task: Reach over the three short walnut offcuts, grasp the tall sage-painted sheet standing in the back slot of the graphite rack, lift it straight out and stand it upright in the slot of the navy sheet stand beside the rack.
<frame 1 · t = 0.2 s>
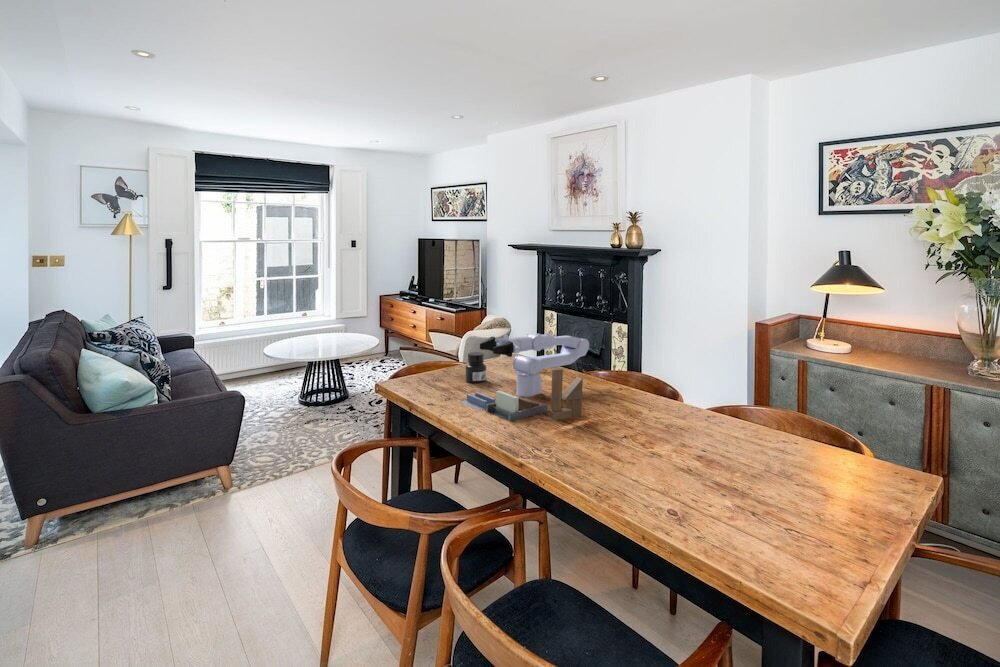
hand: (486, 348, 190), 21 cm above the table, tool horizontal, fingers open, 7 cm apart
slotted rack: (516, 414, 185), on the table
offcut stack: (526, 408, 188), resting on slotted rack
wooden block: (564, 420, 180), on the table
ink bottle: (475, 381, 228), on the table
tall sheet: (507, 413, 182), point 1 cm above the table, touching slotted rack
sheet stand: (480, 405, 194), on the table
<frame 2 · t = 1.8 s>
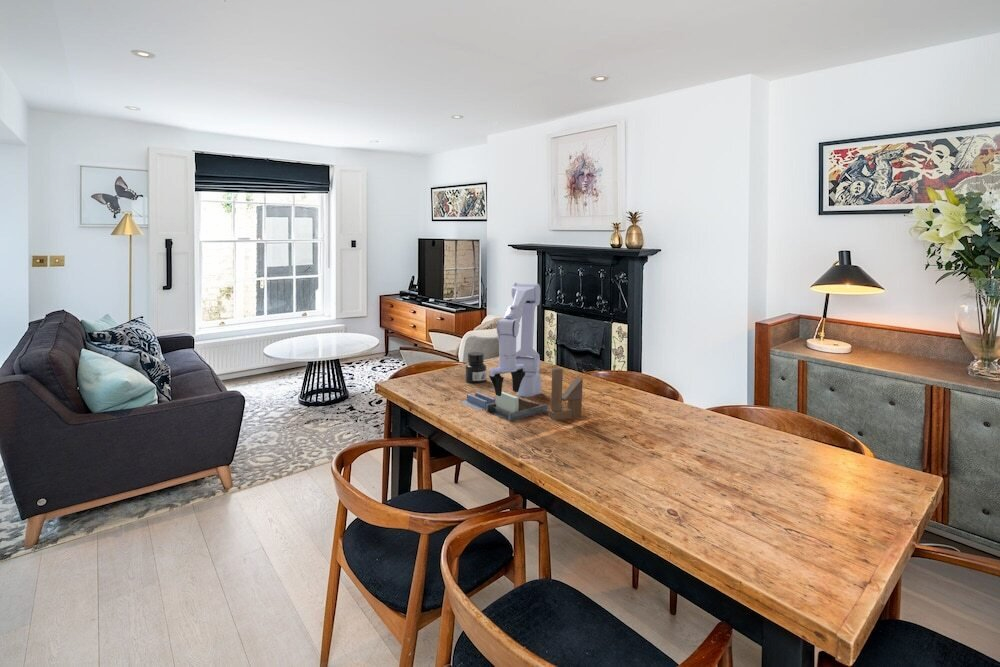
hand: (507, 393, 181), 8 cm above the table, tool pointing down, fingers open, 7 cm apart
nothing on the table moved.
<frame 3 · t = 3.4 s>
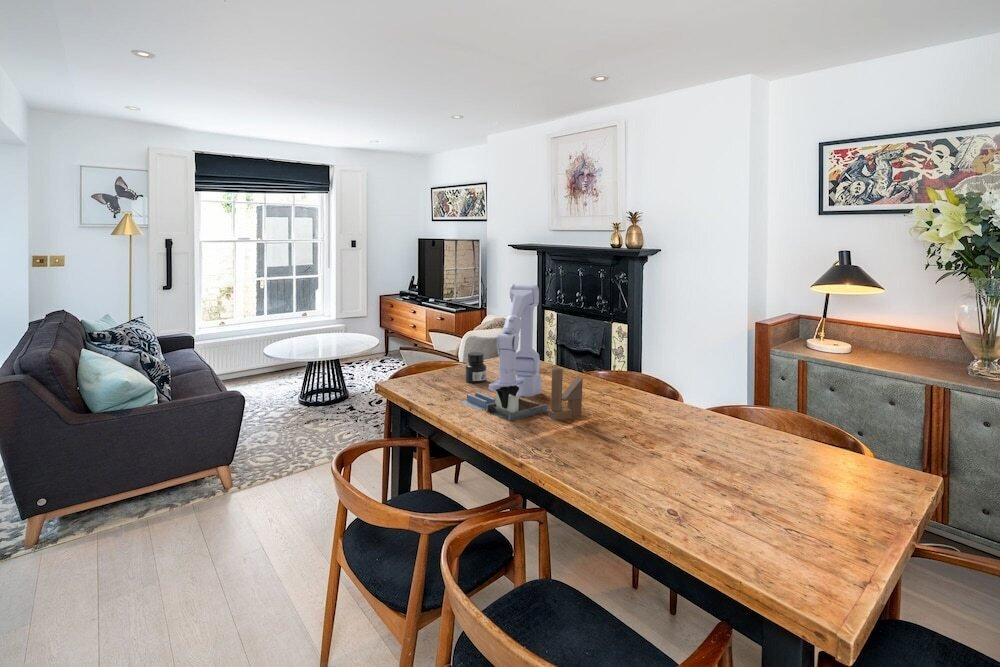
hand: (507, 407, 182), 3 cm above the table, tool pointing down, fingers closed on tall sheet, 2 cm apart
tall sheet: (507, 413, 182), point 1 cm above the table, touching gripper, slotted rack
everything else where it was.
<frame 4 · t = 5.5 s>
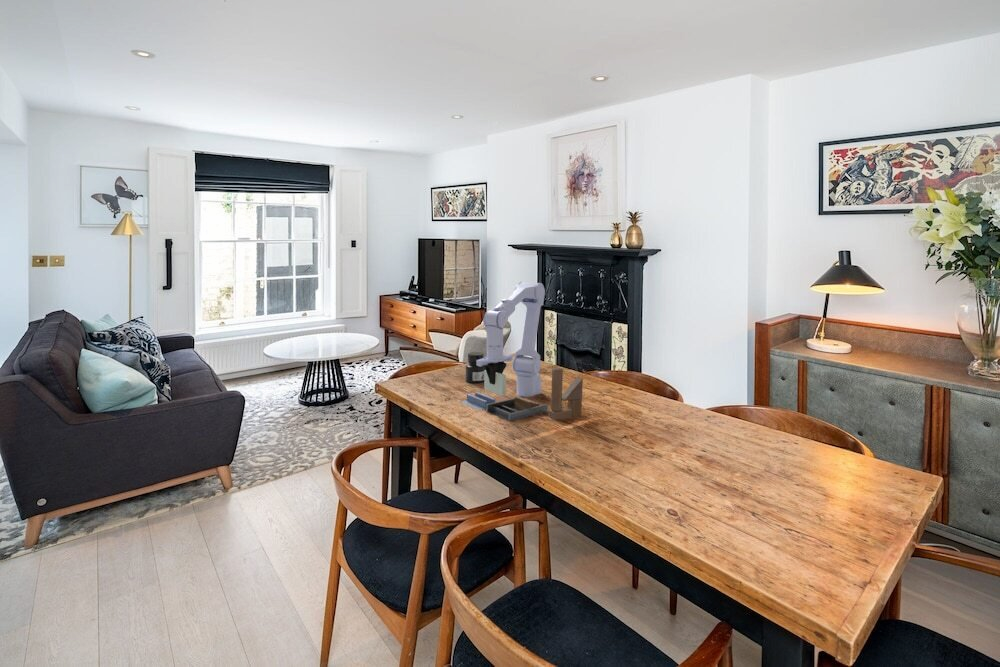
hand: (494, 383, 186), 10 cm above the table, tool pointing down, fingers closed on tall sheet
tall sheet: (494, 392, 186), point 7 cm above the table, touching gripper
everything else where it was.
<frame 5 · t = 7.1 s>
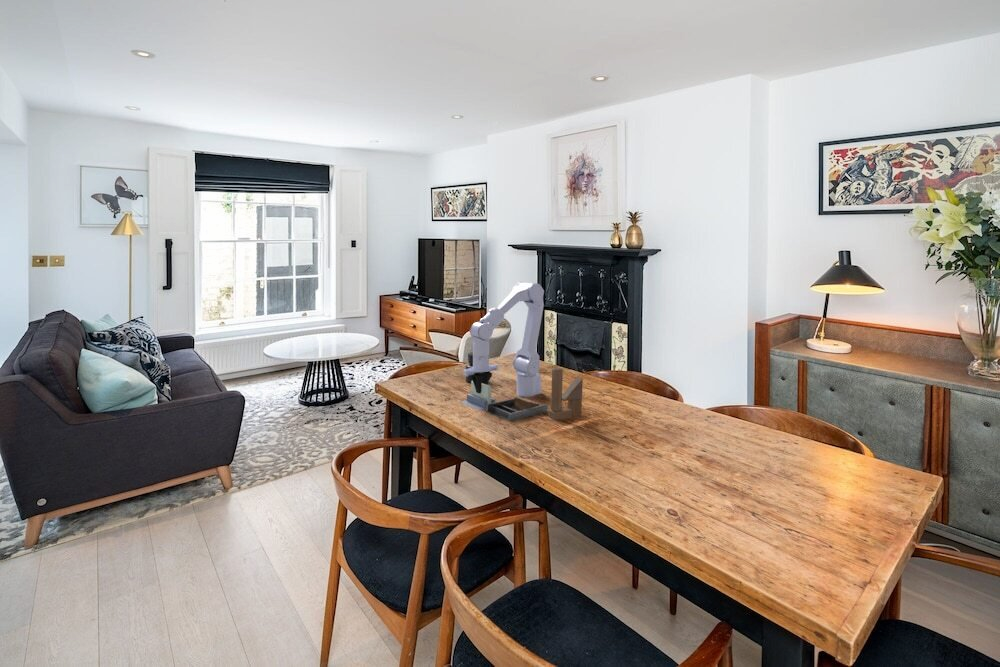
hand: (480, 392, 193), 5 cm above the table, tool pointing down, fingers closed on tall sheet, 2 cm apart
tall sheet: (481, 402, 193), point 1 cm above the table, touching gripper
everything else where it was.
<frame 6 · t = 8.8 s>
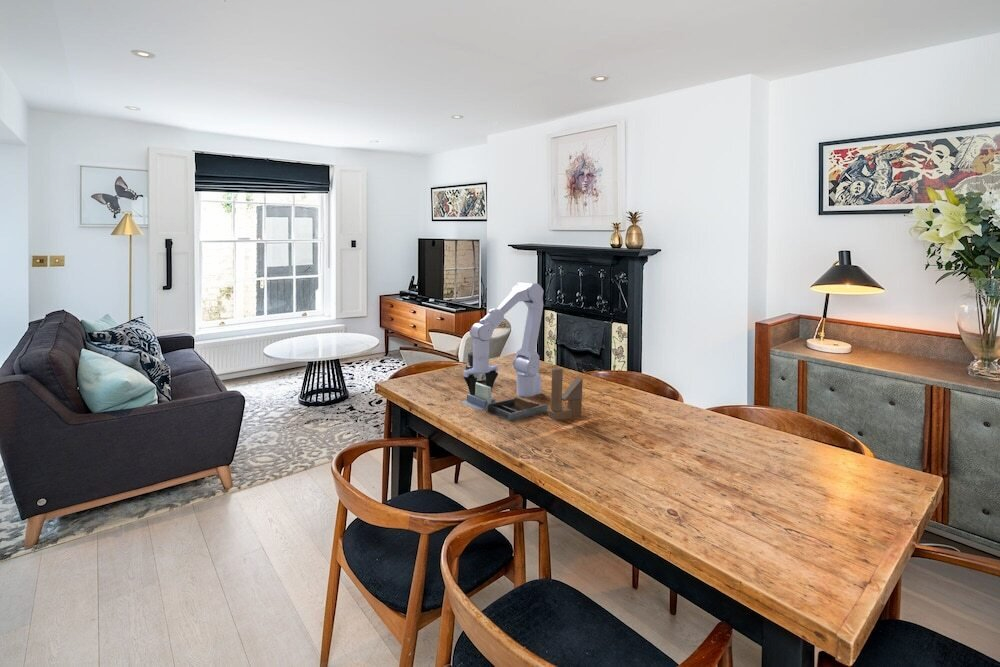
hand: (480, 393, 193), 5 cm above the table, tool pointing down, fingers open, 7 cm apart
tall sheet: (481, 403, 194), point 1 cm above the table, touching sheet stand
everything else where it was.
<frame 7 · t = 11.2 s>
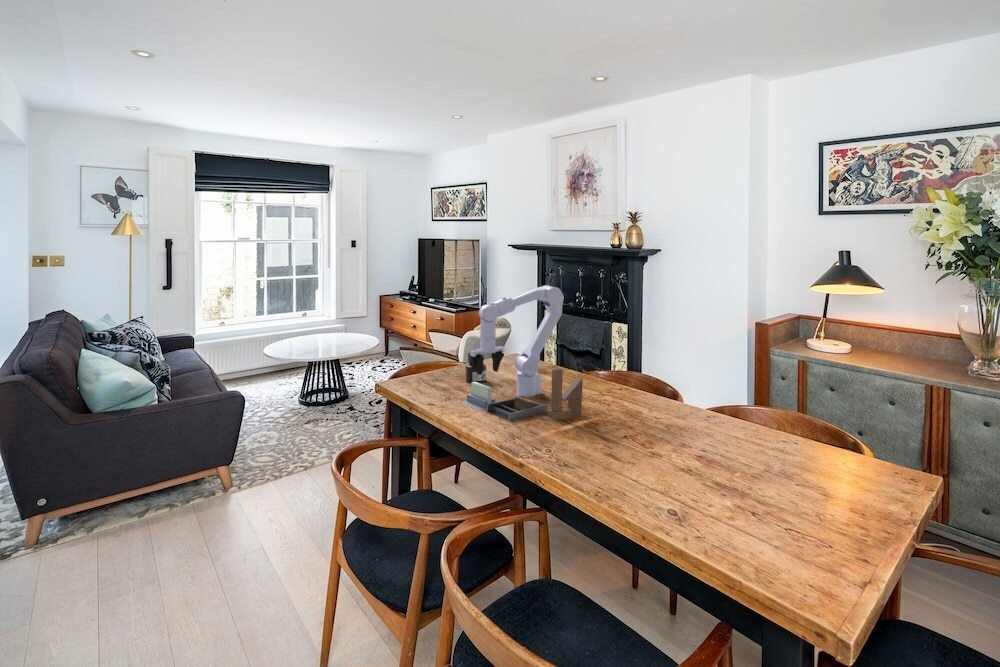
hand: (487, 372, 200), 10 cm above the table, tool pointing down, fingers open, 7 cm apart
nothing on the table moved.
at the end: tall sheet 0.1 cm off-centre on the sheet stand, point 1.0 cm above the sheet stand's base; tall sheet tilted 0°; the gripper is holding nothing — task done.
